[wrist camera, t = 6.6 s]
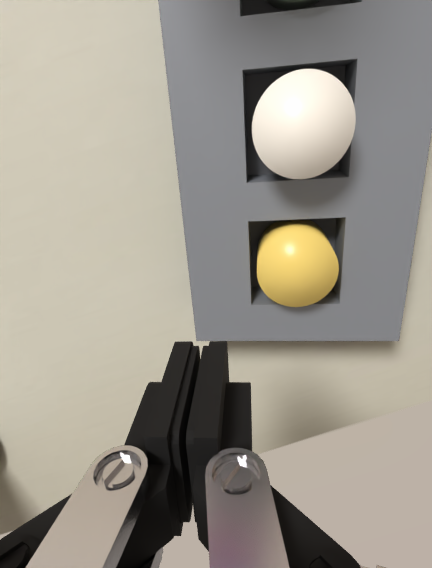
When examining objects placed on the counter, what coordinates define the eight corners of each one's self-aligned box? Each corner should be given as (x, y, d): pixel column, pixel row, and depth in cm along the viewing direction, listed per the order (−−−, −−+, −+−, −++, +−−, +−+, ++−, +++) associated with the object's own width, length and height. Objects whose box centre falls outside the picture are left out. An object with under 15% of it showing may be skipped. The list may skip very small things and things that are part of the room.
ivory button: (337, 166, 19) (351, 176, 16) (254, 171, 19) (253, 181, 16) (343, 72, 17) (360, 63, 14) (251, 80, 17) (249, 73, 15)
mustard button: (326, 282, 23) (336, 306, 20) (258, 283, 23) (257, 307, 20) (330, 214, 21) (341, 231, 18) (256, 218, 21) (255, 234, 19)
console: (381, 311, 25) (398, 341, 21) (204, 313, 26) (196, 340, 23) (448, -214, 15) (499, -305, 12) (157, -161, 16) (132, -227, 13)
